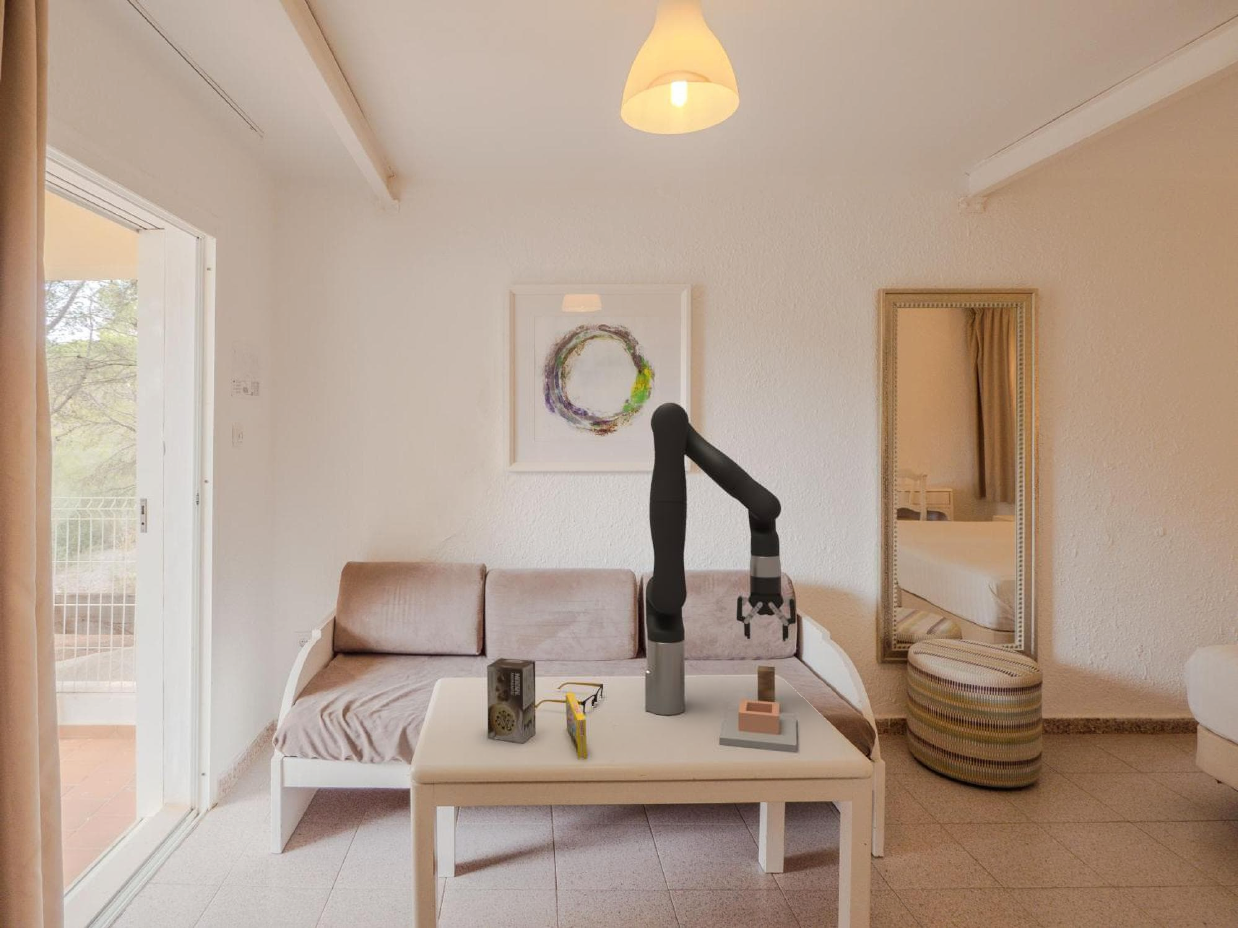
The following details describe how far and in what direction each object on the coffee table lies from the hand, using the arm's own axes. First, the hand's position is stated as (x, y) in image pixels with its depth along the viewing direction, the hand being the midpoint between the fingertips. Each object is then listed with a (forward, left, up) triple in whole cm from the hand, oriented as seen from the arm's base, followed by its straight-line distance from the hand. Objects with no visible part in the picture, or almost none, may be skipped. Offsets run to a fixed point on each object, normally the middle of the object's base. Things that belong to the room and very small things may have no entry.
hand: (766, 639), depth 161 cm
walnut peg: (0, 0, -17) cm, 17 cm away
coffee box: (-54, -31, -17) cm, 65 cm away
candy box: (-39, -31, -18) cm, 53 cm away
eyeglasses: (-48, -8, -18) cm, 52 cm away
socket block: (-1, -15, -17) cm, 23 cm away
